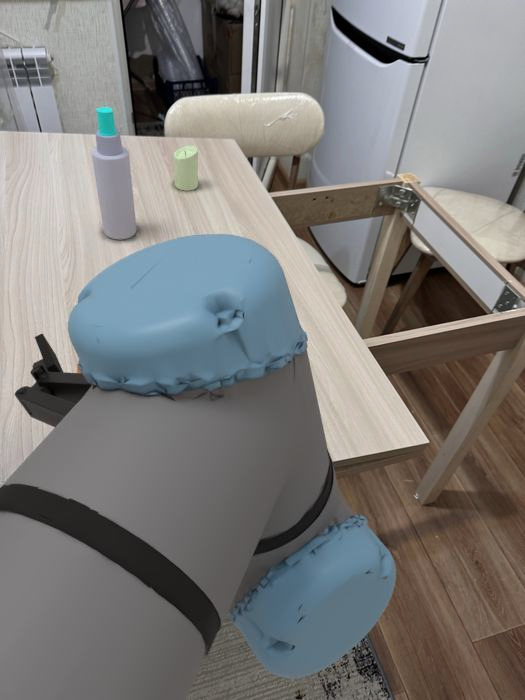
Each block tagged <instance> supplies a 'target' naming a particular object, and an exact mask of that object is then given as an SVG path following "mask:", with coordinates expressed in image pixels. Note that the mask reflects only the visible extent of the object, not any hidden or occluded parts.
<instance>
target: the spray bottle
mask: <svg viewBox="0 0 525 700" xmlns="http://www.w3.org/2000/svg"><path fill="white" fill-rule="evenodd" d="M96 117H97V124H98V129H97V130H96V131H95V142H96V143H95V145H96V146H94V147H93V148H92V150H91V160H92V165H93V166H92V167H93V172H94V179H95V185H96V192H97V198H98V205H99V211H100V215H101V216H100V217H101V222H102V229H103V233H104V235H105V236H106V237H108V238H110V239H113V240H127V239H130V238H132V237H133V236H135V234H136V233H137V229H138V228H137V227H138V226H137V219H136V210H135V209H136V208H135V199H134V190H133V189H134V188H133V178H132V170H131V161H130V160H131V159H130V151H129V149H128V148H127V147H125V146H123V144H122V138H121V132H120V131H119V130H118V129H116V123H115V117H114V110H113V108H112V107H109V106H99V107H98V108H96Z"/></svg>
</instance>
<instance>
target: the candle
mask: <svg viewBox="0 0 525 700" xmlns="http://www.w3.org/2000/svg"><path fill="white" fill-rule="evenodd" d="M173 169H174V173H173V174H174V186H175V188H177V189H178V190H181V191H186V192H188V191H193V190H196V189H197V188H198V186H199V150H198V147H197V146H195V145H186V146H182V147H180V148H178V149H177V150H175V152H174V153H173Z"/></svg>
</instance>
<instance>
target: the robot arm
mask: <svg viewBox="0 0 525 700" xmlns="http://www.w3.org/2000/svg"><path fill="white" fill-rule="evenodd" d="M291 294H292V293H291V292H290V288H289V284H288V282H287V278H286V275H285V272H284V270H283V267H282V265H281V263H280V261H279V259H278V258H277V257H276V256H275V255H274V254H273V253H272V252H271V251H270V250H269V249H268V248H267V247H265V246H264V245H262V244H261V243H258V242H257V241H255V240H253V239H251V238H247V237H245V236H241V235H235V234H227V233H211V234H210V233H209V234H207V233H205V234H192V235H186V236H180V237H176V238H173V239H169V240H166V241H162V242H158V243H155V244H153V245H150V246H147V247H144V248H142V249H139V250H137V251H135V252H133V253H131V254H129V255H127V256H125V257H123V258H121V259H119V260H117V261H116V262H114V263H112V264H111V265H109V266H108V267H106V268H105V269H103V270H102V271H101V272H99V273H98V274H97V275H95V276H94V277H93V278H92V279H91V280H90V281H89V282H88V283H87V284H86V285H85V286H84V287H83V288H82V289H81V290H80V293H79V294H78V296H77V304H75V305H74V307H72V310H71V311H70V312H69V313H70V314H69V318H68V321H67V333H68V337H69V340H70V343H71V345H72V347H73V349H74V351H75V353H76V355H77V357H78V363H77V364H78V365H79V370H80V371H81V372H82V373H77V372H66V371H65V372H64V369H63V367H62V366H61V363H60V361H59V358H58V357H57V354H56V352H55V351H54V350H53V347H52V346H51V345H50V343H49V341H48V340H47V338H46V337H45V335H44V333H40V334H38V335H35V336H34V339H35V342H36V344H37V347H38V350H39V352H40V355H41V357H42V358H41V359H39V360H37V361H35V362H33V363H32V367H31V370H30V372H29V373H30V375H31V376H32V378H33V379H34V380H35V383H34V384H33V385H31V386H28V385H25V386H21V387H20V388H18V389H17V390H15V393H14V396H15V398H16V399H17V400H18V402H19V403H20V405H21V407H23V408H24V410H25V411H26V413H27V414H28V415H29V417H31V418H32V419H35V420H37V421H38V422H42V423H43V424H46V425H49V426H50V427H53V429H52V430H51V431H50V432H49V433H48V435H47V436H46V437H44V439H43V440H42V441H41V442H40V443H39V444H38V445H37V447H36V448H35V449H34V450H33V451H31V453H30V454H29V455H28V456H27V457H26V458H25V460H24V461H23V462H22V463H21V464H20V465H19V466H18V467H17V468H16V470H15V471H13V473H12V474H11V475H10V476H9V477H8V478H7V479H6V480H5V482H3V484H2V485H1V486H0V700H188V697H189V695H190V692H191V690H192V688H193V685H194V683H195V681H196V678H197V676H198V673H199V671H200V669H201V666H202V664H203V662H204V660H205V659H206V657H207V656H209V653H210V651H211V648H212V647H213V644H214V641H215V639H216V637H217V635H218V633H219V632H220V630H221V629H222V627H223V625H224V622H225V620H226V618H227V615H228V613H229V615H228V617H229V619H230V620H231V622H232V625H233V626H234V628H235V629H237V630H239V632H240V633H241V635H242V637H243V639H244V640H245V642H246V643H247V644H248V647H249V648H250V650H251V651H252V652H253V655H254V657H255V658H256V659H257V661H258V662H259V664H260V665H261V666H262V667H263V668H264V669H265V670H266V671H267V672H268V673H270V674H272V675H274V676H277V677H279V678H283V679H297V678H299V679H300V678H304V677H308V676H310V675H314V674H316V673H318V672H320V671H322V670H324V669H325V668H328V667H330V666H331V665H332V664H334V663H336V662H337V661H339V660H340V659H341V658H343V657H344V656H345V655H346V654H348V652H350V651H351V650H352V649H353V648H355V647H356V646H357V645H358V644H359V643H361V641H362V640H363V639H364V638H365V637H366V636H367V635H368V634H369V633H370V632H371V630H372V629H373V628H374V627H375V625H376V624H377V623H378V621H379V620H380V619H381V617H382V616H383V614H384V612H385V610H386V609H387V607H388V605H389V603H390V601H391V599H392V596H393V593H394V590H395V586H396V580H397V568H396V563H395V560H394V558H393V555H392V553H391V552H390V550H389V549H388V548H387V547H386V546H385V544H384V543H383V542H382V541H381V540H380V538H379V537H378V536H377V534H376V533H375V532H374V531H373V530H372V528H370V525H369V520H368V519H367V518H366V517H365V516H364V515H362V514H358V513H357V512H356V511H354V509H352V507H350V506H349V504H348V503H347V502H346V500H345V499H344V497H343V496H342V493H341V492H340V489H339V484H338V478H337V474H336V470H335V465H334V462H333V459H332V457H331V454H330V452H329V449H328V443H327V438H326V434H325V429H324V423H323V419H322V415H321V410H320V405H319V401H318V395H317V391H316V386H315V381H314V376H313V372H312V368H311V363H310V357H309V352H308V340H309V339H308V334H307V332H306V331H305V330H304V329H303V328H302V325H301V323H300V320H299V317H298V314H297V310H296V307H295V304H294V301H293V297H292V295H291Z"/></svg>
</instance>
